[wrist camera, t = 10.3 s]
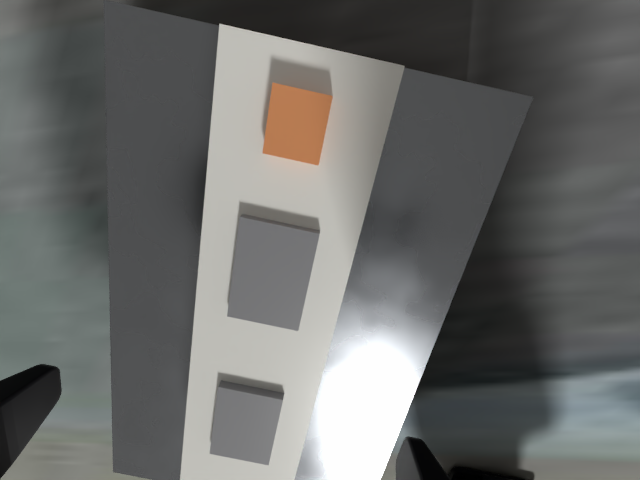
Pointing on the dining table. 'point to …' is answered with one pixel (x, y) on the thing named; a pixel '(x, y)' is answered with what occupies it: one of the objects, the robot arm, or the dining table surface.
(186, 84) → the keyhole board
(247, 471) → the power strip
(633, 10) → the dining table surface
